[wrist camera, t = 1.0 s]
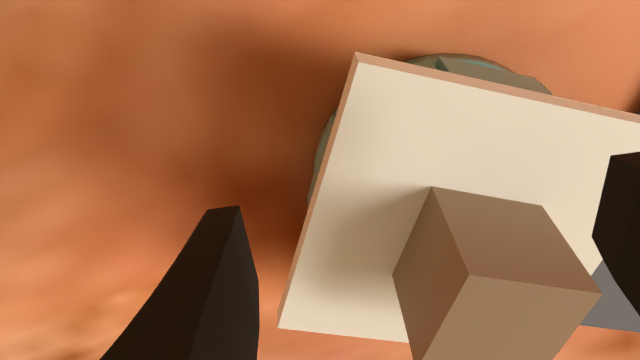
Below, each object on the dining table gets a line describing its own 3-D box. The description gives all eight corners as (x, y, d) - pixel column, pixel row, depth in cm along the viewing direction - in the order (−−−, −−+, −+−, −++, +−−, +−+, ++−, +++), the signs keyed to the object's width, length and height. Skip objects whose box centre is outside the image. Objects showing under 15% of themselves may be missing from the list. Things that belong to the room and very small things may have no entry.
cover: (677, 123, 17) (798, 214, 13) (524, 341, 23) (575, 449, 19) (355, 51, 15) (383, 133, 11) (277, 311, 21) (277, 426, 17)
